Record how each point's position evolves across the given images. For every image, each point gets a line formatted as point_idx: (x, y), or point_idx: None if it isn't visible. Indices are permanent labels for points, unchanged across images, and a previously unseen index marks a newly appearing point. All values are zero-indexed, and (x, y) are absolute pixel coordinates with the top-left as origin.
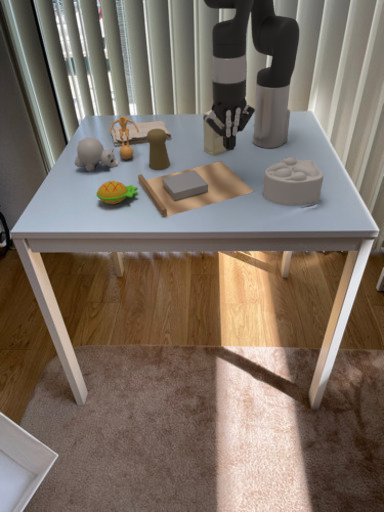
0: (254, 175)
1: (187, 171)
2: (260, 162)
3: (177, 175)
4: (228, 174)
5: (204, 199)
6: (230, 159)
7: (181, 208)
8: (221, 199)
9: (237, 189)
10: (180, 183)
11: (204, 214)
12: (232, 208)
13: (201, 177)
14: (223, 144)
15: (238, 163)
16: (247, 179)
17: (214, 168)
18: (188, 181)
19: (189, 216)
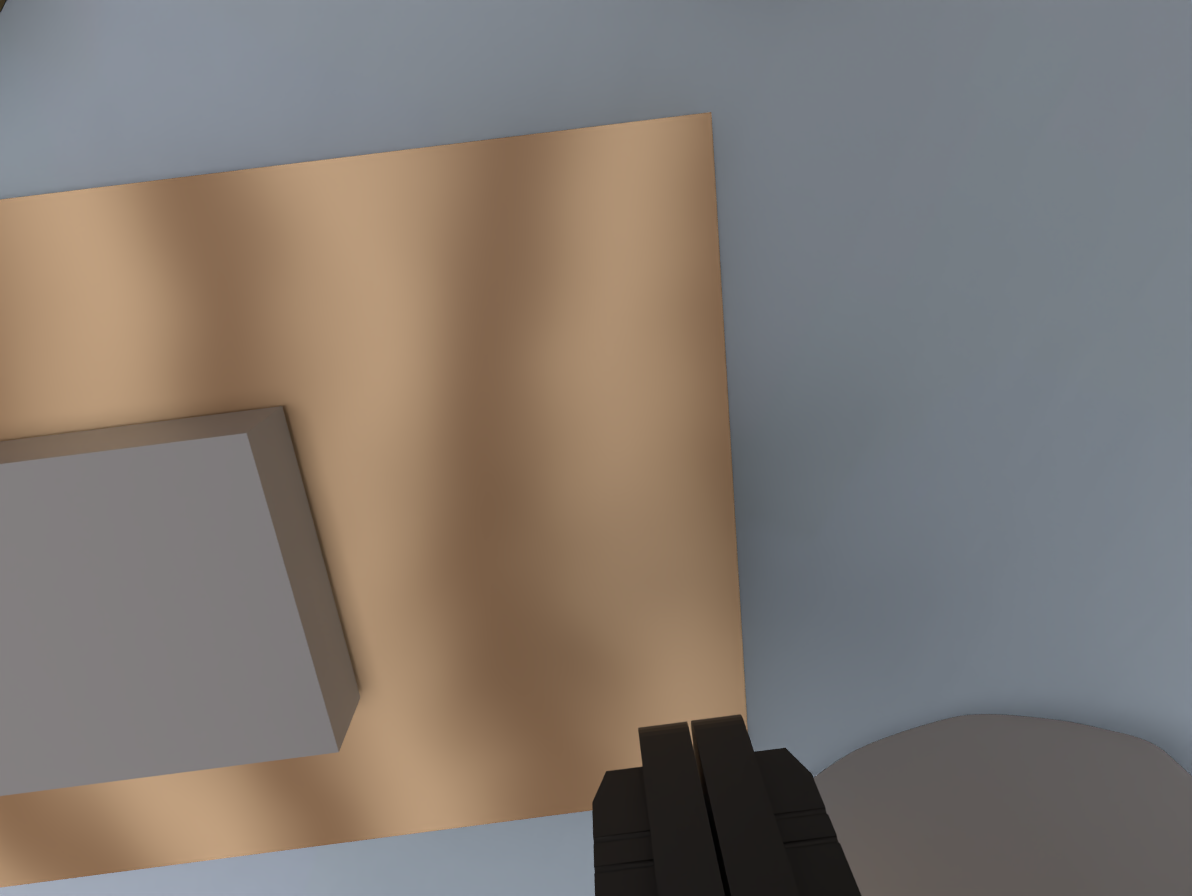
0: (914, 486)
1: (218, 219)
2: (1131, 249)
3: (6, 486)
4: (662, 459)
5: (303, 777)
6: (866, 22)
7: (83, 838)
8: (446, 812)
9: (631, 726)
10: (37, 659)
11: (282, 872)
12: (510, 862)
13: (297, 617)
14: (596, 839)
15: (902, 173)
16: (815, 531)
17: (563, 273)
18: (134, 647)
19: (162, 866)
